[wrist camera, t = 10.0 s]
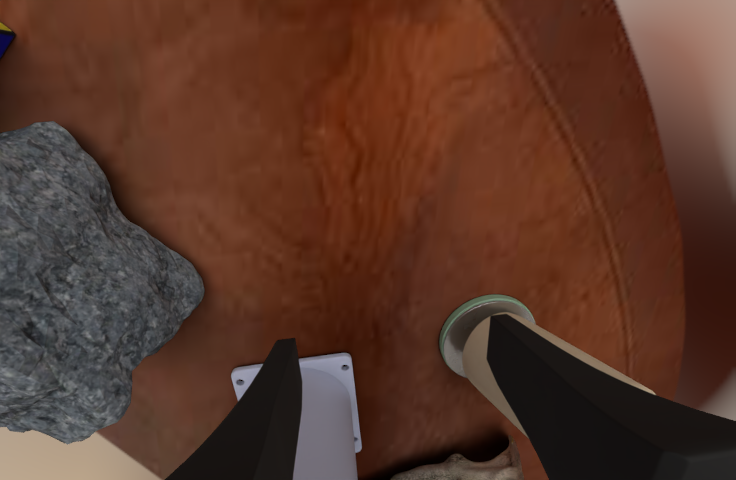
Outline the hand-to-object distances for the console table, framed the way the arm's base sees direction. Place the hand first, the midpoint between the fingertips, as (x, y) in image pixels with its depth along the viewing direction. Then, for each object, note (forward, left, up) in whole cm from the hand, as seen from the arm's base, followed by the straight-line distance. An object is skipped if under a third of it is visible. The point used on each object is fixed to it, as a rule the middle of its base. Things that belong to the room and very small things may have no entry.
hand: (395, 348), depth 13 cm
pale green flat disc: (-8, -8, -10) cm, 15 cm away
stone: (+2, +15, -10) cm, 18 cm away
